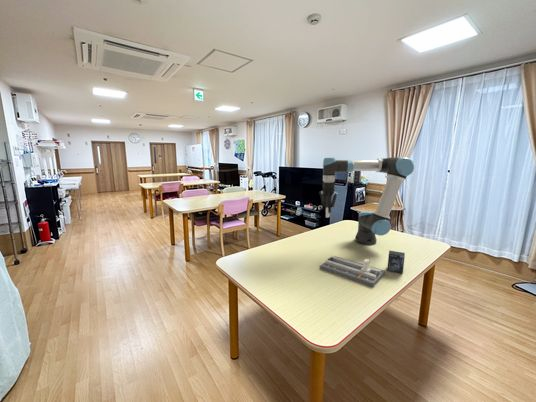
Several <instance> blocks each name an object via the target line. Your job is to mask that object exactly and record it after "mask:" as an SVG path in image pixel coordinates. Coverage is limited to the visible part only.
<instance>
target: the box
mask: <svg viewBox="0 0 536 402" xmlns="http://www.w3.org/2000/svg"><path fill="white" fill-rule="evenodd" d="M405 257H406V255H405V252H402V251H401V252H400V251H396V250H388V260H387V267H386V270H387V272H391V273H392V272H393V273H397V274H401V275H403V274H404V266H405Z"/></svg>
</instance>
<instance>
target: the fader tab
mask: <svg viewBox="0 0 536 402" xmlns="http://www.w3.org/2000/svg"><path fill="white" fill-rule="evenodd" d="M362 261H363V262H362V264H363V268H362V269H361V270H362V271H365V272H369V273H370V272H371V269H370V268H369V266H370V259H368V258H365V259H364V260H362Z"/></svg>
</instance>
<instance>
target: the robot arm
mask: <svg viewBox="0 0 536 402" xmlns="http://www.w3.org/2000/svg"><path fill="white" fill-rule="evenodd" d="M322 162H323V163H322V172H323V173H322V190H321V191H319V192H318V193H319V196H320V202H321V206H322V207H324V212H325V218H330V217H331V216H330V215H331V212H332V208H333V207H335V203H336V200H337V196H338V195H339V193H338V192H336V190H335V187H336V186H335V185H336V182H335V181H336V179H335V178H336V173H351V172H356V171H357V172H375V173H382V174H386V176H387V181H386V183H385V186H384V188H383V191H382V194H381V196H380V199H379V202H378V204H377V207H376V209H375V211H370V210H369V211H360V212H359V213H358V222H357V224H358V226H357V232H356V233H355V236H354V237H355V238H354V241H355V242H356V243H358V244H361V245H365V246H366V245H367V246H368V245H369V246H371V245H376V244H377V241H378V240H377V236H380V237H382V236H385V235H387V234H389V232H390V231H391V229H392V225H391V222H390V220H391V216H390V213H391V211H392V208H393V206H394V204H395V200H396V199H397V196H398V193H399V191H400V188H401V185H402V182H404V181H406V179H407V177H408V176H410V175H411V174H413V172H414V170H415V165H414V162H413V160H412V159H411V158H408V157H404V156H401V157H399V156H397V157H395V156H394V157H392V156H391V157H385V158H384V157H383V158H377V159H373V160H372V159H371V160H370V159H365V160H363V159H357V160H356V159H355V160H354V159H353V160H351V159H346V160H345V159H343V160H342V159H337V158H336V157H325V158H323V161H322ZM376 235H377V236H376Z"/></svg>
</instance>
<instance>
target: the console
mask: <svg viewBox="0 0 536 402" xmlns="http://www.w3.org/2000/svg"><path fill="white" fill-rule="evenodd" d="M362 268H363V263H360V262H357V261H354V260H350V259H348V258H347V259H346V258H343V257H340V256H336V255H333V256H332V255H331V256H330V257H329V258H327V259H326V260H325V262H323V263H322V264H320V265H319V269H320V270H322V271H326V272H328V273H331V274H334V275H336V276H340V277H343V278H345V279H347V280H351V281H355V282H357V283H359V284H363V285H366V286H368V287H371V288H374V287H375V286H376V285H377V284H378V283H379V282H380V280H381V279H382V278H383V277H384V276H385V275H386V270H384V269H381V268H379V267H378V268H377V267H374V266H371V265H369V268H370V269H371V272H370V273H369V272H365V271H362V270H361V269H362Z"/></svg>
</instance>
